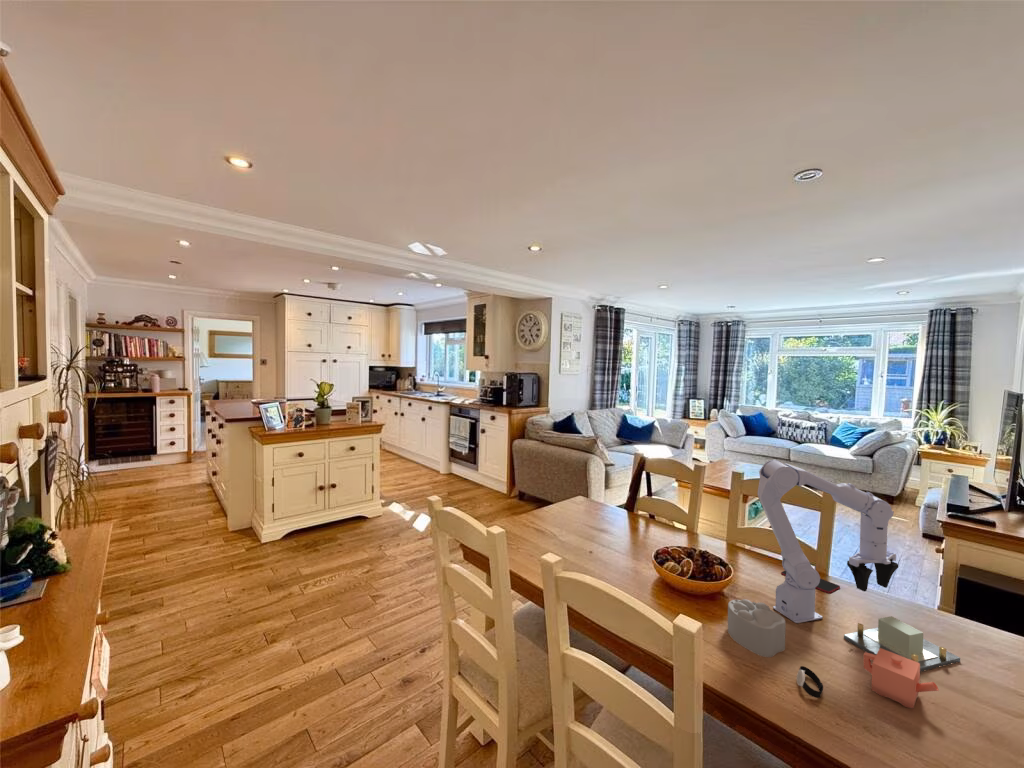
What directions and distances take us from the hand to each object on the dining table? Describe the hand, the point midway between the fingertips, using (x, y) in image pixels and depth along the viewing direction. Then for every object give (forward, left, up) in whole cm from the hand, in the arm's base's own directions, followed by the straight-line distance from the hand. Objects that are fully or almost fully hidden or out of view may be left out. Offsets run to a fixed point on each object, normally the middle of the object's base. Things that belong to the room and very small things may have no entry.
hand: (871, 587), depth 118 cm
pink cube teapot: (-23, -22, -10) cm, 33 cm away
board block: (-6, -11, -8) cm, 15 cm away
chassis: (-6, -11, -9) cm, 16 cm away
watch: (-39, -15, -10) cm, 43 cm away
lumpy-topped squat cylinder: (-38, +2, -10) cm, 39 cm away
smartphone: (+4, +22, -10) cm, 24 cm away
